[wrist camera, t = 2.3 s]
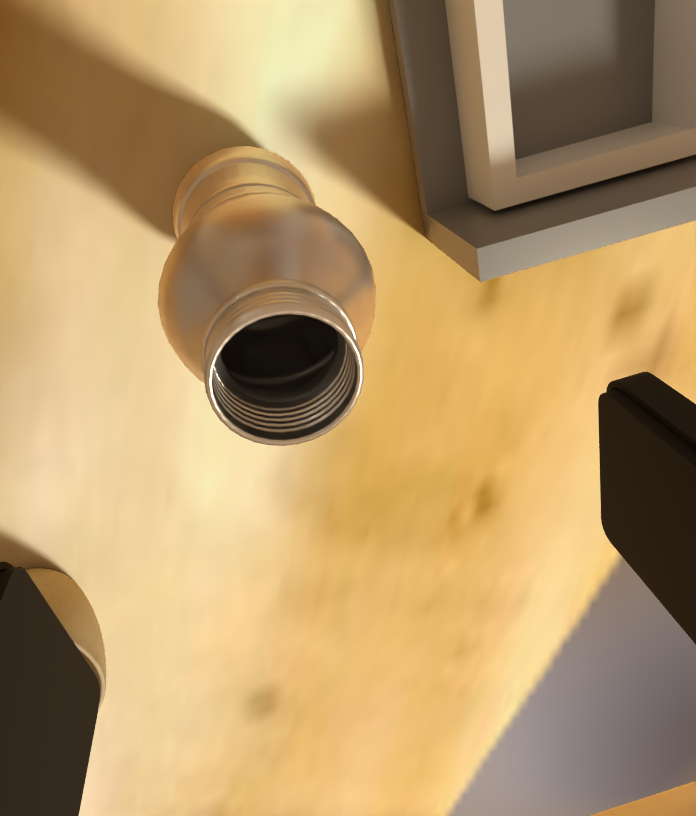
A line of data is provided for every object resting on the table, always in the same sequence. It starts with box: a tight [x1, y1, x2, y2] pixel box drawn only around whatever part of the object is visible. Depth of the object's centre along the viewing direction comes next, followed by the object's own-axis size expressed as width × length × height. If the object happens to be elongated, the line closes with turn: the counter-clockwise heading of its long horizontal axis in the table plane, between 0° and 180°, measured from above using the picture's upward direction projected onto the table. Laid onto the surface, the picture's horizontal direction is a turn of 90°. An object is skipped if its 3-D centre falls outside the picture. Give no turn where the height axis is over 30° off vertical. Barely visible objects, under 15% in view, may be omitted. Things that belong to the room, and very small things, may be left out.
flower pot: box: [25, 568, 106, 710], centre depth 38 cm, size 10×10×7 cm
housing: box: [388, 0, 696, 282], centre depth 27 cm, size 16×16×8 cm
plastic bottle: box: [158, 146, 376, 446], centre depth 23 cm, size 6×7×20 cm
